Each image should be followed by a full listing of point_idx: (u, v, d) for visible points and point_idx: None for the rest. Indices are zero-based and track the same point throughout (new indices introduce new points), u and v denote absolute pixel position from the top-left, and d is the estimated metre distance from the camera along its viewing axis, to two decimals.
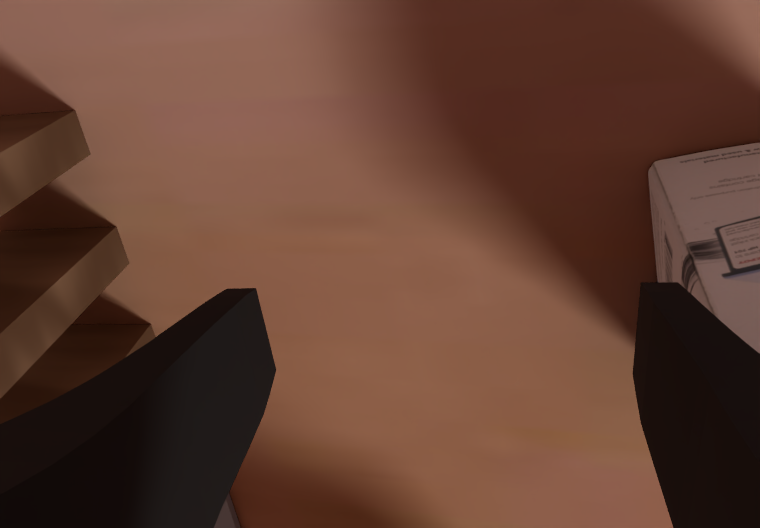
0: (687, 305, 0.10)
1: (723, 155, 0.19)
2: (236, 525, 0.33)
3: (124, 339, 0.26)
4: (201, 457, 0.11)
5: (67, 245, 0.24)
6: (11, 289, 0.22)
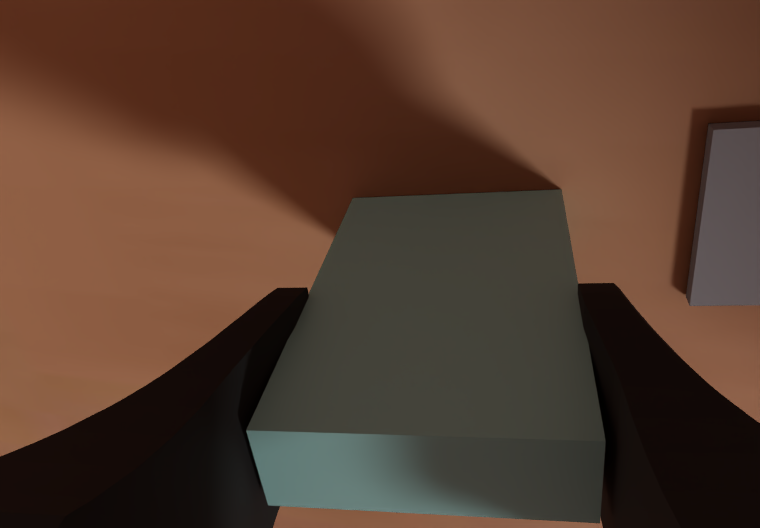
0: (616, 305, 0.10)
1: None
2: None
3: None
4: None
5: None
6: None
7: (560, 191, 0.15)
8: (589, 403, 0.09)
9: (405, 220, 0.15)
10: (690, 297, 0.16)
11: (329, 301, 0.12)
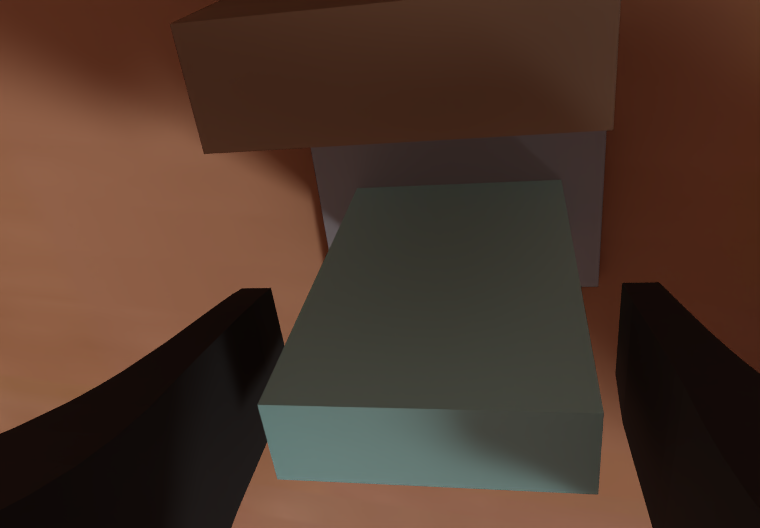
0: (666, 305, 0.10)
1: None
2: (599, 247, 0.17)
3: None
4: (218, 458, 0.11)
5: None
6: None
7: (560, 181, 0.16)
8: (587, 379, 0.10)
9: (409, 209, 0.15)
10: None
11: (335, 285, 0.13)
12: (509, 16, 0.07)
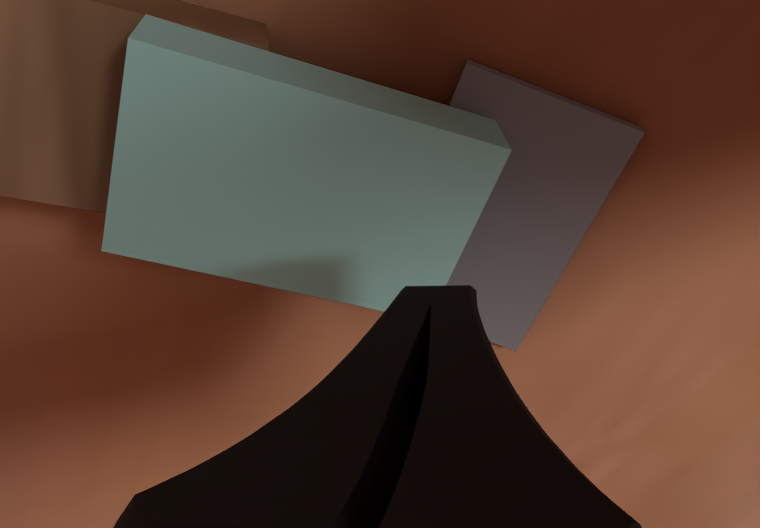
0: (458, 307, 0.11)
1: None
2: (599, 113, 0.15)
3: None
4: None
5: None
6: None
7: (490, 119, 0.16)
8: (180, 31, 0.14)
9: None
10: (509, 347, 0.19)
11: None
12: None
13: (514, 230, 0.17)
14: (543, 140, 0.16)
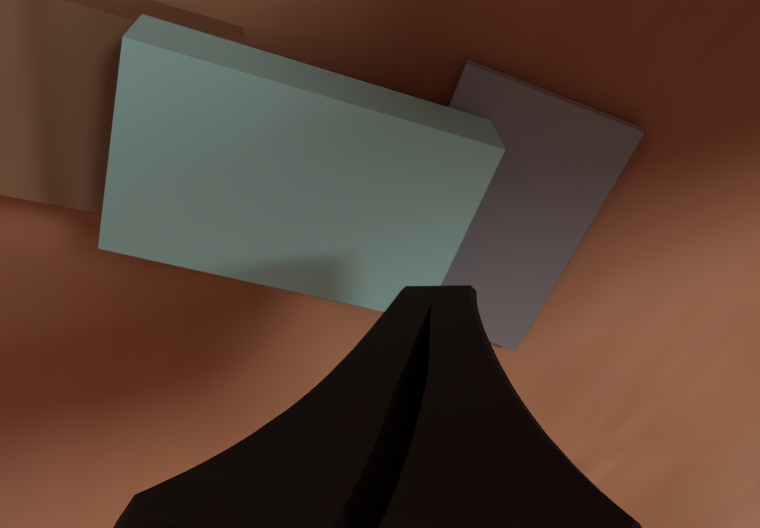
0: (458, 307, 0.11)
1: None
2: (599, 113, 0.15)
3: None
4: None
5: None
6: None
7: (485, 120, 0.16)
8: (175, 30, 0.14)
9: None
10: (509, 347, 0.19)
11: None
12: None
13: (514, 230, 0.17)
14: (543, 140, 0.16)
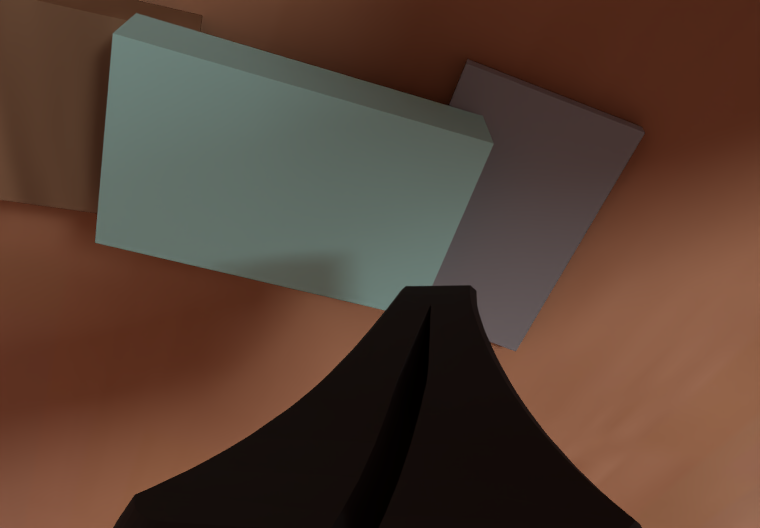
0: (458, 307, 0.11)
1: None
2: (599, 113, 0.15)
3: None
4: None
5: None
6: None
7: (477, 115, 0.16)
8: (169, 28, 0.14)
9: None
10: (509, 347, 0.19)
11: None
12: None
13: (514, 230, 0.17)
14: (543, 140, 0.16)
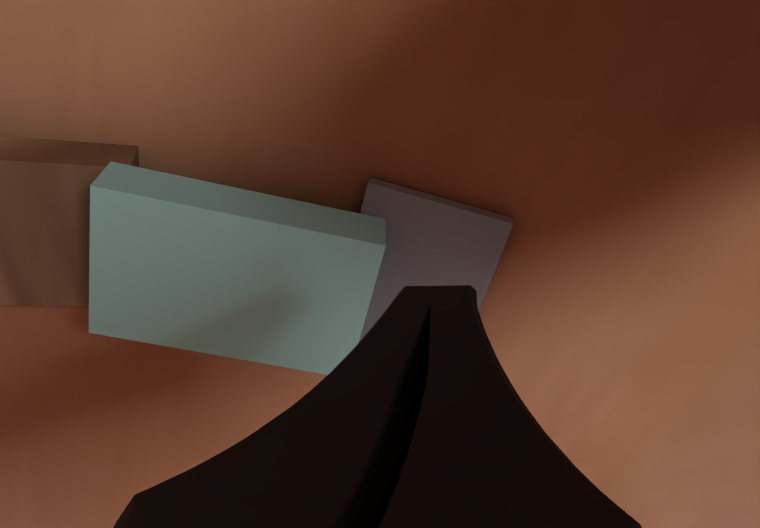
0: (458, 307, 0.11)
1: None
2: (477, 211, 0.19)
3: None
4: None
5: None
6: None
7: (381, 219, 0.20)
8: (136, 170, 0.19)
9: None
10: None
11: None
12: None
13: None
14: (437, 234, 0.20)
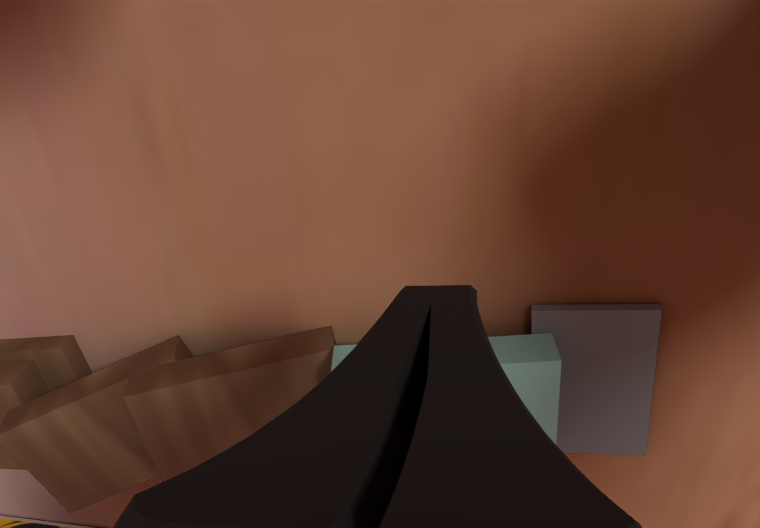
0: (458, 307, 0.11)
1: None
2: (627, 308, 0.23)
3: None
4: None
5: None
6: None
7: (548, 333, 0.24)
8: (353, 347, 0.25)
9: None
10: (640, 454, 0.26)
11: None
12: None
13: (607, 386, 0.25)
14: (599, 333, 0.24)
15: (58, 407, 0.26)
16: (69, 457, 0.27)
